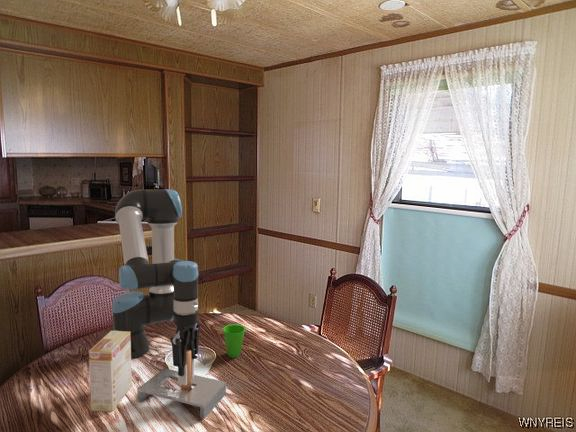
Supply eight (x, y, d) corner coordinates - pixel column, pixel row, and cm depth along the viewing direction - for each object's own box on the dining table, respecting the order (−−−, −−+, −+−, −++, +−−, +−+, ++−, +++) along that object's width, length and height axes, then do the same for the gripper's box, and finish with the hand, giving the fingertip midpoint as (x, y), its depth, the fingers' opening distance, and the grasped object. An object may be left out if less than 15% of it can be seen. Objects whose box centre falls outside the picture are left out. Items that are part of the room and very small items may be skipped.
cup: (247, 350, 166) (247, 324, 165) (242, 361, 157) (243, 334, 156) (225, 348, 167) (225, 323, 166) (219, 359, 158) (220, 332, 157)
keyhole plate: (137, 401, 129) (137, 388, 128) (164, 379, 142) (164, 368, 142) (203, 419, 121) (203, 405, 121) (225, 394, 134) (225, 382, 134)
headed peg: (174, 398, 129) (174, 353, 128) (183, 389, 134) (183, 346, 132) (188, 401, 128) (188, 356, 126) (197, 392, 133) (197, 349, 131)
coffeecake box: (112, 384, 138) (110, 330, 136) (132, 385, 138) (131, 330, 136) (89, 411, 124) (87, 350, 121) (112, 412, 123) (110, 351, 121)
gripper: (181, 322, 119) (181, 396, 122) (209, 304, 134) (209, 371, 137) (159, 318, 121) (160, 391, 124) (189, 301, 136) (190, 367, 139)
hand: (186, 380), depth 130 cm, fingers closed on headed peg, 3 cm apart
